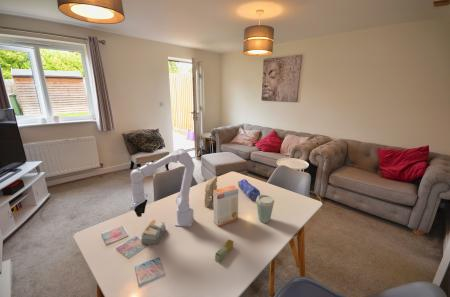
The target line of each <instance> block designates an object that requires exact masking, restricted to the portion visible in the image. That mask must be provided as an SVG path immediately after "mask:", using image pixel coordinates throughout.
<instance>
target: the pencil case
mask: <svg viewBox="0 0 450 297" xmlns="http://www.w3.org/2000/svg"><path fill="white" fill-rule="evenodd" d="M237 183H238V184H237V185H238V189H240V190H241V191H242V192H243V193H244V194H245V196H246V197H248V198H249V199H250V200H251V201H256V199H257V197H258V196H259V195H261V192H260V190H259V189H258V188H257V187H255V186H254V185H252V184H251V183H250V182H249V181H248V180H247V179H246V178H245V179H241V180H239V181H238V182H237Z"/></svg>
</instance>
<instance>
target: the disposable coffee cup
mask: <svg viewBox="0 0 450 297" xmlns="http://www.w3.org/2000/svg"><path fill="white" fill-rule="evenodd" d="M255 202H256V207H257V208H256V209H257V216H258V221H259V222H260V223H263V224H268V223H269V222H270V221H271V217H272V213H273V209H274V204H275V200H274V198H273V197H272V196H271V195H268V194H261V193H260V195H259V196H258V197H257V199H256V200H255Z"/></svg>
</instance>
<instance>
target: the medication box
mask: <svg viewBox="0 0 450 297" xmlns="http://www.w3.org/2000/svg"><path fill="white" fill-rule="evenodd" d="M233 247H234V240H232V239H227V241H226V242H225V243H224V244H223V245H221V247H220V248H219V250H217V251H216V252H215V255H214V256H215V257H214V259H215V260H214V261H215V262H216V263H221V261H222V260H223V259H224V258H225V257H226V256H227V255H228V253H229V252H230V251H232V249H233Z"/></svg>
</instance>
